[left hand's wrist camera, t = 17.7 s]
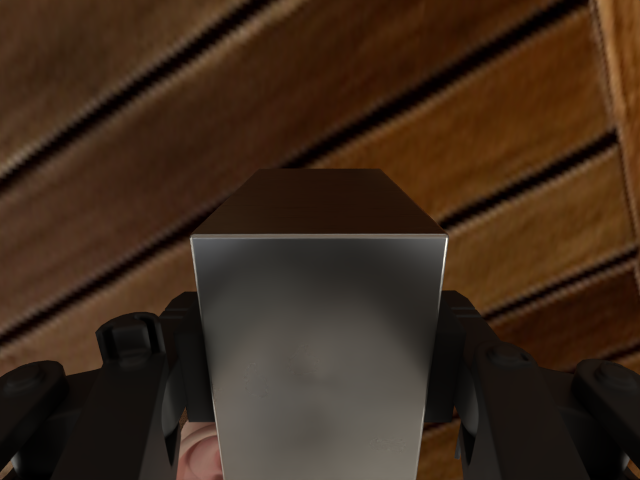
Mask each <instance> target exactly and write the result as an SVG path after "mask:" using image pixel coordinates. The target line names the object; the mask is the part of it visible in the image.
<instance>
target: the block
mask: <svg viewBox="0 0 640 480" xmlns="http://www.w3.org/2000/svg"><path fill="white" fill-rule="evenodd" d="M448 240H449V236H448V234H447V233H446V232H445V231H444V230H443V229H442V228H441V227H440V226H439V225H438V224H437V223H436V222H435V221H434V220H433V219H432V218H431V217H430V216H429V215H428V214H427V213H426V212H424V211H423V210H422V209H421V208H420V207H419V206H418V205H417V204H416V203H415V202H414V201H413V200H412V199H411V198H410V197H409V196H408V195H407V194H406V193H405V192H404V191H403V190H402V189H401V188H400V187H398V186H397V185H396V184H395V183H394V182H393V181H392V180H391V179H390V178H389V177H388V176H387V175H386V174H385V173H384V172H383V171H382V170H381V169H259V170H257V171H256V172H255V173H254V174H253V175H252V176H251V177H250V178H249V179H248V180H247V181H246V182H245V183H244V184H243V185H242V186H241V187H240V188H239V189H238V190H237V191H236V192H234V193H233V194H232V195H231V196H230V197H229V198H228V199H227V200H226V201H225V202H224V203H223V204H222V205H221V206H220V207H219V208H218V209H217V210H216V211H215V212H214V213H213V214H211V215H210V216H209V217H208V218H207V219H206V220H205V221H204V222H203V223H202V224H201V225H200V226H199V227H198V228H197V229H196V230H195V231H194V232H193V233H192V234H191V235H190V242H191V250H192V257H193V264H194V271H195V278H196V285H197V293H198V300H199V307H200V314H201V321H202V328H203V336H204V343H205V350H206V357H207V364H208V371H209V379H210V386H211V393H212V400H213V407H214V414H215V422H216V429H217V436H218V443H219V450H220V457H221V465H222V472H223V479H224V480H416V475H417V468H418V460H419V453H420V446H421V438H422V431H423V424H424V416H425V409H426V402H427V394H428V387H429V380H430V372H431V365H432V358H433V350H434V343H435V335H436V328H437V321H438V313H439V306H440V299H441V291H442V284H443V277H444V269H445V262H446V255H447V247H448Z"/></svg>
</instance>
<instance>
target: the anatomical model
mask: <svg viewBox="0 0 640 480" xmlns="http://www.w3.org/2000/svg"><path fill="white" fill-rule="evenodd" d="M176 480H224V479H223V472H222V465H221V457H220V450H219V443H218V436H217V429H216V422H188V420H187V422H186V423H185V425H184V427H183V429H182V431H181V443H180V452H179V460H178V469H177V478H176Z"/></svg>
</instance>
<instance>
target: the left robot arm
mask: <svg viewBox="0 0 640 480" xmlns="http://www.w3.org/2000/svg"><path fill="white" fill-rule="evenodd" d="M95 333H96V337H97V341H98V345H99V348H100V352H101V356H102V360H103V365H102V367H101V368H100V369H96V370H92V371H87V372H82V373H78V374H73V375H68V376H66V375H65V371H64V368H63V366H62V365H61V364H60V363H59V362H57V361H49V360H46V361H38V362H33V363H28V364H25V365H22V366H20V367H18V368H16V369H14V370H12V371H10V372H8V373H6V374H4V375H3V376H2V377H0V472H1V471H2V469H3V468H4V467H5V466H6V465H7V464H8V462H9V461H10V460H11V462H12V464H13V469H12V470H11V471H10V472H9V473H8V475H6V476H5V477H4V478H3V479H2V480H176V478H177V469H178V460H179V452H180V443H181V430H180V424H179V420H180V417H181V415H182V413H183V411H184V409H185V406H186V410H187V416H188V422H215V414H214V407H213V400H212V393H211V386H210V379H209V371H208V364H207V357H206V350H205V343H204V336H203V328H202V321H201V314H200V307H199V300H198V293H197V292H184V293H182V294H180V295H179V296H177V297H176V298H174V299H173V300H172V301H171V302H170V303H169V305H168V306H167V307H166V308H165V311H163V312H162V314H161V315H160V316H159V317H158V316H157V315H155V314H153V313H149V312H134V313H129V314H125V315H121V316H119V317H116V318H114V319H111V320H110V321H108V322H106V323H105V324H103V325H102V326H101V327H100V328H99V329H98V330H97V331H96V332H95ZM454 405H455V407H456V410H457V412H458V414H459V416H460V418H461V424H460V429H459V435H458V440H457V445H456V451H455V458H456V459H459V458H460V453H461V460H462V468H463V477H464V480H640V479H639V478H637V477H636V476H635V475H634V474H633V473H632V471H631V470H630V469H629V468H628V467H627V463H628V461H629V459H631V460H632V461H633V462H634V464H635V465H636V466H637V467H638V468H639V469H640V375H638V374H637V373H635V372H634V371H632V370H630V369H628V368H626V367H623V366H622V365H620V364H617V363H612V362H610V361H606V360H599V359H586V360H582V361H581V362H580V363H578V364H577V367H576V370H575V374H570V373H565V372H560V371H555V370H550V369H546V368H542V367H538V364H537V362H536V361H535V360H534V358H533V357H532V356H531V355H530V354H529V353H527V352H526V351H525V350H523V349H522V348H520V347H517V346H515V345H513V344H511V343H507V342H503V341H501V340H500V339H499V338H498V337H497V335H496V334H495V333H494V331H493V330H492V329H491V328H490V326H489V325H488V324H487V323H486V321H485V320H484V319H483V318H481V315H480V314H479V312H478V311H477V310H475V307H474V306H473V305H472V303H471V302H470V301H469V300H468V298H466V297H464V296H463V295H461V294H460V293H458V292H457V291H441V299H440V306H439V313H438V321H437V328H436V335H435V343H434V350H433V358H432V365H431V372H430V380H429V387H428V394H427V402H426V409H425V416H424V422H451V420H452V414H453V409H454Z"/></svg>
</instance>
